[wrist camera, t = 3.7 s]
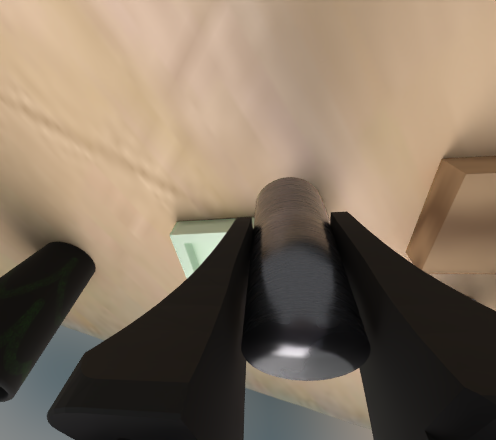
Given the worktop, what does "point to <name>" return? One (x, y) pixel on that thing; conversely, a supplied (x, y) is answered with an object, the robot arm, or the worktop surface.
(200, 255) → the green tray
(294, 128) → the worktop surface
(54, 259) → the cup
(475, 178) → the brown rectangular block
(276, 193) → the steel pin
